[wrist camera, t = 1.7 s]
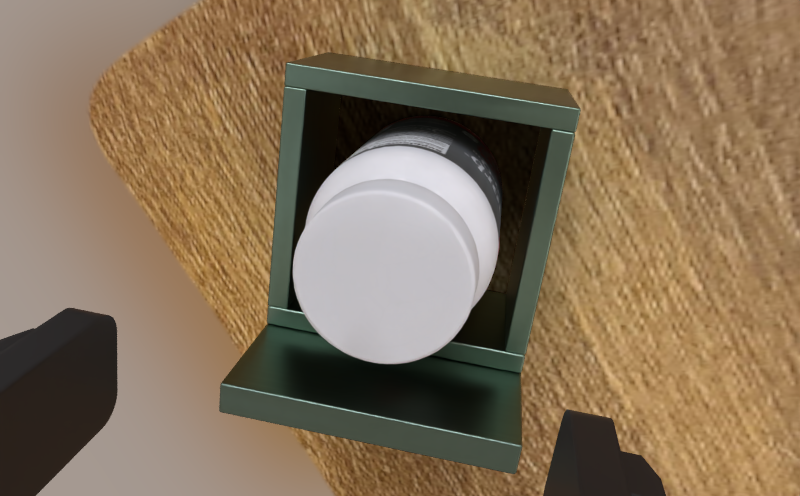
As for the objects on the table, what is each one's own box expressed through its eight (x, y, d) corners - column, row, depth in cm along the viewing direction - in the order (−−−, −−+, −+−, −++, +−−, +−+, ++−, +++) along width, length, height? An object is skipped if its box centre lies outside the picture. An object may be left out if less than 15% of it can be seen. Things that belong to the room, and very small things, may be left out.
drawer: (327, 51, 25) (235, 74, 17) (568, 89, 24) (596, 132, 16) (304, 294, 29) (218, 412, 20) (515, 334, 28) (515, 475, 19)
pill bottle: (507, 254, 27) (504, 385, 18) (365, 261, 28) (290, 389, 19) (497, 104, 25) (487, 162, 16) (345, 119, 26) (252, 180, 17)
